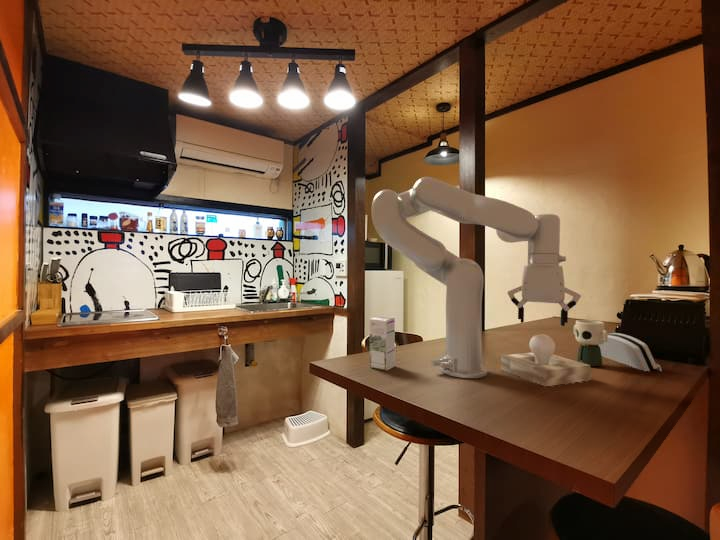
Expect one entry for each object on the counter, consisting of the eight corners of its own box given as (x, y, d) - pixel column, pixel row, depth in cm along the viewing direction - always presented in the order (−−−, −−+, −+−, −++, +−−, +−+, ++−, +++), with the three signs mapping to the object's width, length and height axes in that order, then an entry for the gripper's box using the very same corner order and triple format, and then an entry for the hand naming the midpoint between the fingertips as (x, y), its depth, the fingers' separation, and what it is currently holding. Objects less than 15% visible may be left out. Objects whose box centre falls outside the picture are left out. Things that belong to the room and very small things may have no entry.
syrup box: (395, 366, 98) (395, 317, 98) (386, 371, 93) (386, 319, 93) (378, 363, 101) (378, 315, 101) (368, 368, 96) (368, 318, 96)
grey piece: (663, 371, 93) (651, 338, 92) (647, 377, 92) (636, 343, 92) (615, 355, 109) (605, 327, 109) (602, 360, 109) (592, 332, 109)
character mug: (564, 360, 103) (564, 319, 103) (583, 359, 105) (583, 318, 105) (596, 371, 93) (596, 325, 93) (617, 369, 94) (617, 324, 94)
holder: (544, 387, 80) (544, 370, 80) (500, 369, 95) (500, 355, 94) (590, 380, 85) (590, 365, 85) (541, 364, 99) (541, 351, 99)
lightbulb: (524, 371, 93) (524, 332, 93) (545, 370, 93) (545, 332, 93) (538, 378, 86) (538, 336, 86) (560, 378, 87) (560, 336, 87)
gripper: (579, 261, 89) (578, 324, 89) (509, 260, 97) (507, 319, 97) (583, 260, 82) (581, 329, 82) (507, 260, 90) (506, 322, 90)
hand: (541, 323), depth 90 cm, fingers open, 9 cm apart
